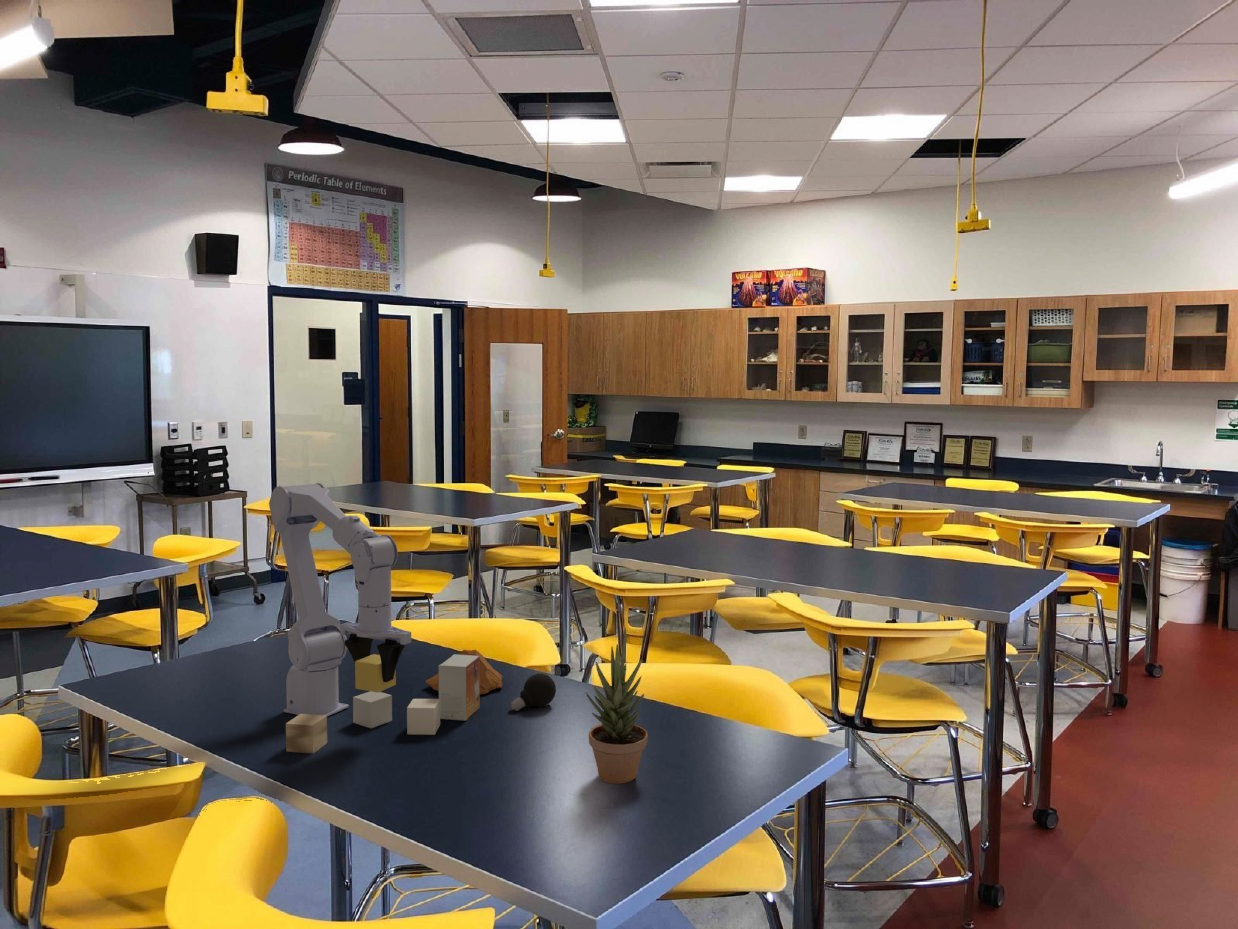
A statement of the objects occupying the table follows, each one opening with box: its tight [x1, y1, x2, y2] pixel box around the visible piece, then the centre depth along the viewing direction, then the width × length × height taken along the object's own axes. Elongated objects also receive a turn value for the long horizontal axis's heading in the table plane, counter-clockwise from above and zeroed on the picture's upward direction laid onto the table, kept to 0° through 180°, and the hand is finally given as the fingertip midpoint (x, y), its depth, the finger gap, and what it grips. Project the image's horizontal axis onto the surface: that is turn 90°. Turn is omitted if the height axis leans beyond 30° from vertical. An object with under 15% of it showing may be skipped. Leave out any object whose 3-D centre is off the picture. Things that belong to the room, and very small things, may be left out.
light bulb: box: [510, 673, 557, 712], centre depth 187 cm, size 6×6×10 cm
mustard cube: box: [354, 653, 397, 693], centre depth 171 cm, size 5×5×5 cm
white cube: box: [406, 698, 441, 736], centre depth 175 cm, size 5×5×5 cm
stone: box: [425, 649, 504, 695], centre depth 199 cm, size 15×15×10 cm
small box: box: [438, 653, 481, 721], centre depth 183 cm, size 8×6×10 cm
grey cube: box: [352, 691, 393, 729], centre depth 178 cm, size 5×5×5 cm
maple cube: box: [285, 714, 328, 754], centre depth 166 cm, size 5×5×5 cm
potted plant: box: [585, 627, 649, 784], centre depth 154 cm, size 10×10×25 cm
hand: (375, 678), depth 171 cm, fingers closed on mustard cube, 5 cm apart
